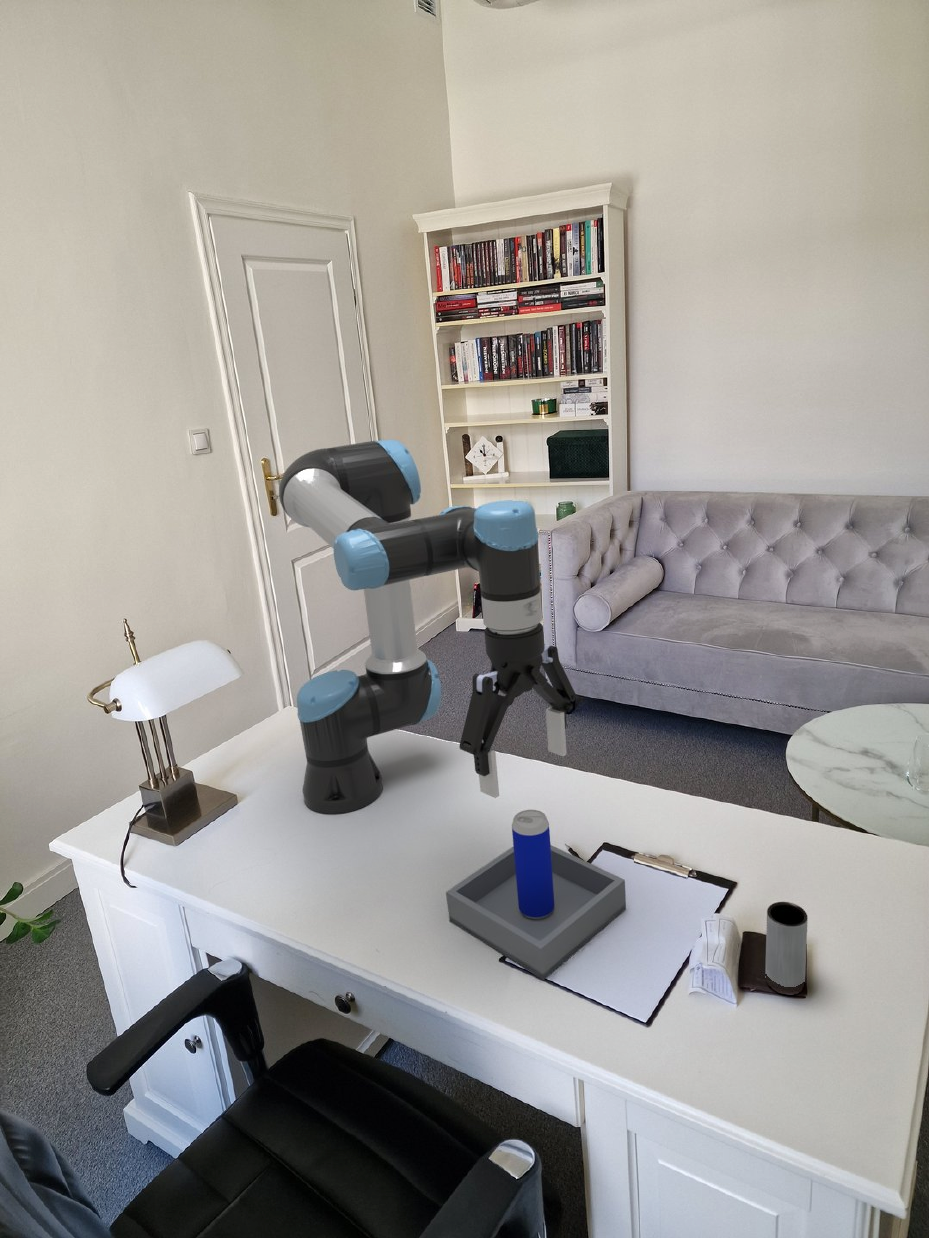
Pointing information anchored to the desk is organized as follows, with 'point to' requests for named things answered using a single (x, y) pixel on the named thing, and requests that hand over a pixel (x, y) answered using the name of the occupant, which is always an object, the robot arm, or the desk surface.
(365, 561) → the robot arm
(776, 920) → the grey cylinder
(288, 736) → the desk surface
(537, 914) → the beverage can
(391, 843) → the desk surface
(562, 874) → the bin
